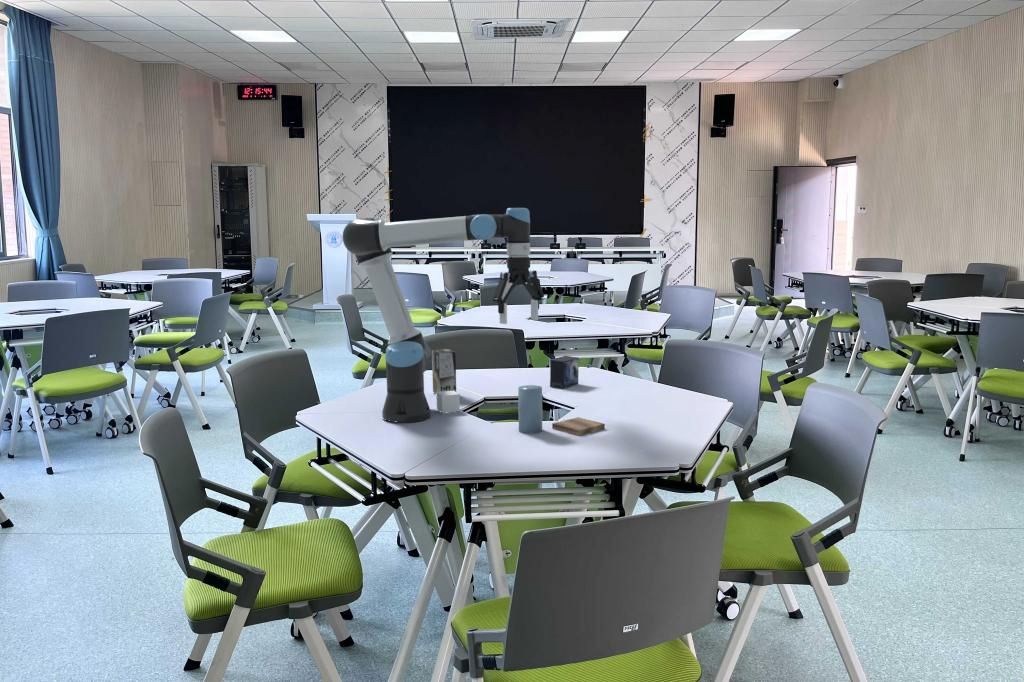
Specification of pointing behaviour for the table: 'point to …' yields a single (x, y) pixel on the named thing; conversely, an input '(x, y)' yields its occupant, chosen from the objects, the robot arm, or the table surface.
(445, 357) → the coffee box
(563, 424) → the board
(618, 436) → the table surface
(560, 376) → the small box
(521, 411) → the grey cylinder
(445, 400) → the grey cube
